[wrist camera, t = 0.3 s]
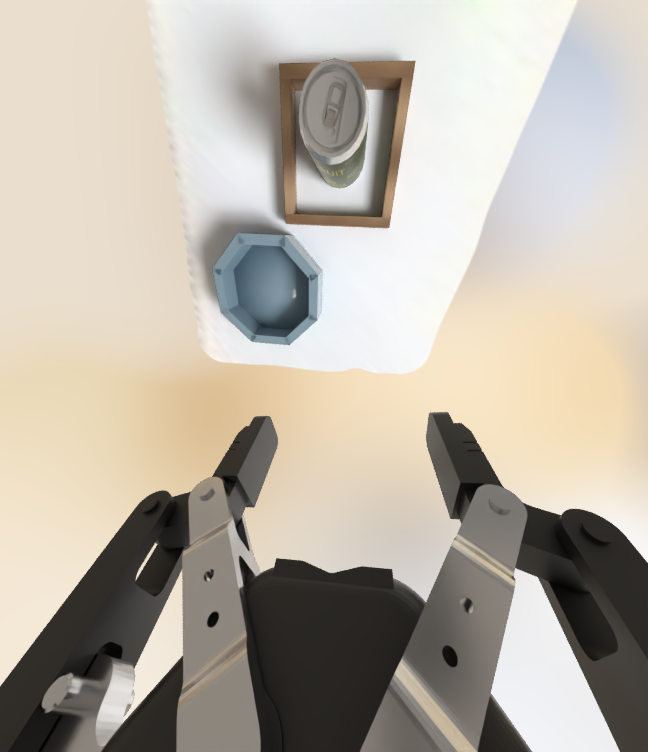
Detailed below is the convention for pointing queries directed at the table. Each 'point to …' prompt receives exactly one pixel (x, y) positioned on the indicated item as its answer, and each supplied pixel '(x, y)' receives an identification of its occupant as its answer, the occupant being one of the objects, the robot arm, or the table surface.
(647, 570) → the robot arm
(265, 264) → the slate bowl
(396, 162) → the walnut frame
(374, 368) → the table surface
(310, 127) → the beer can
